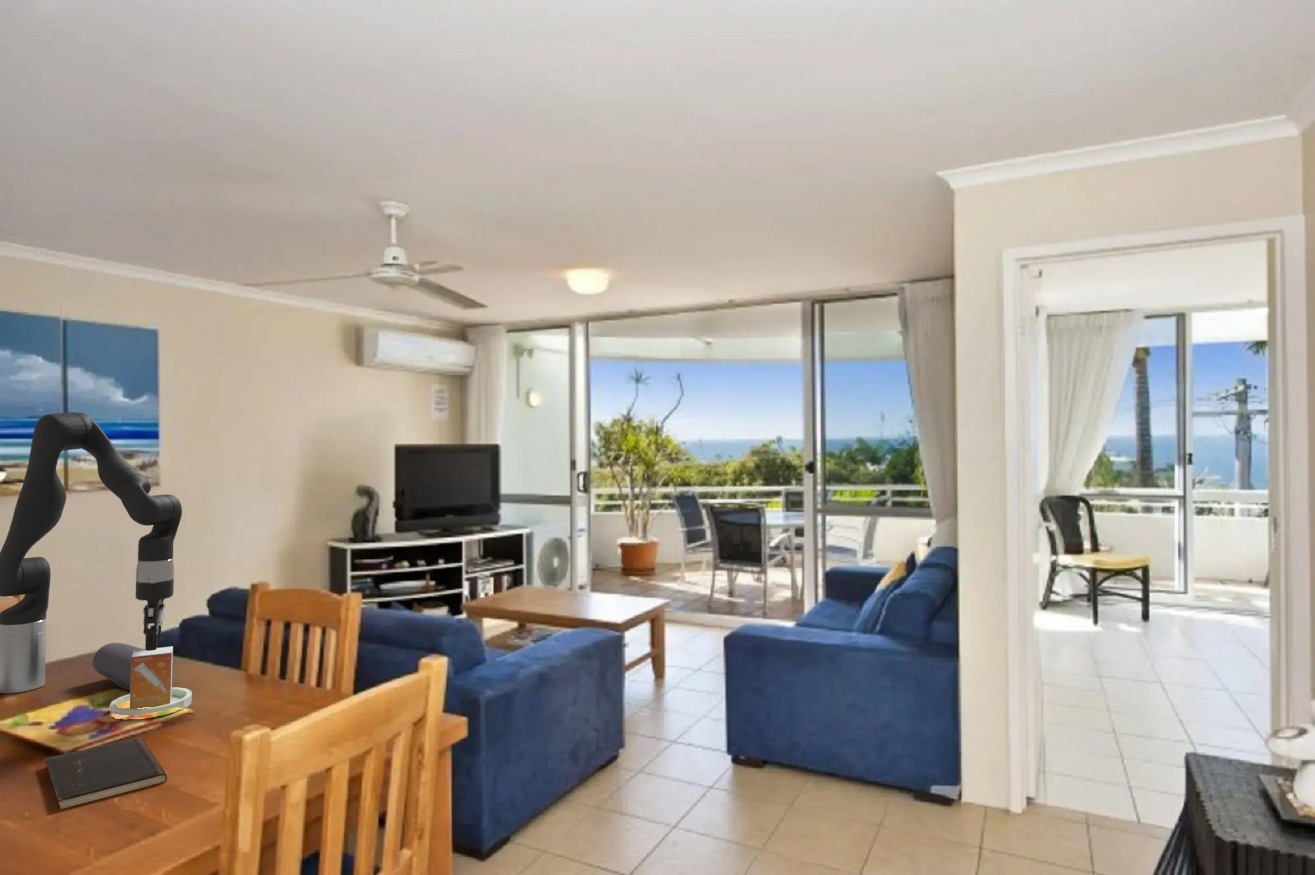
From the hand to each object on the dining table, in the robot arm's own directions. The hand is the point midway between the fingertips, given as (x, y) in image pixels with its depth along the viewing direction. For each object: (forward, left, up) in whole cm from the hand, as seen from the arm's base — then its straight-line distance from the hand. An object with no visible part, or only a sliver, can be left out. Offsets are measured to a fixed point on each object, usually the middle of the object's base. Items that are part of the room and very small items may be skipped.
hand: (153, 645), depth 176 cm
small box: (0, 0, -15) cm, 15 cm away
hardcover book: (+38, -4, -16) cm, 41 cm away
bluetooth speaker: (-21, -7, -15) cm, 27 cm away
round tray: (0, 0, -15) cm, 15 cm away
